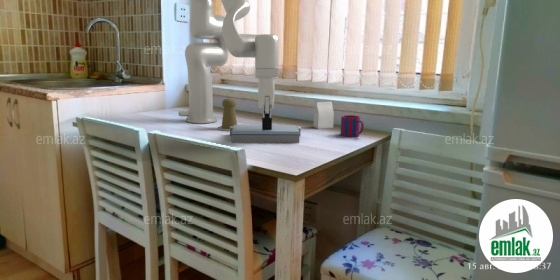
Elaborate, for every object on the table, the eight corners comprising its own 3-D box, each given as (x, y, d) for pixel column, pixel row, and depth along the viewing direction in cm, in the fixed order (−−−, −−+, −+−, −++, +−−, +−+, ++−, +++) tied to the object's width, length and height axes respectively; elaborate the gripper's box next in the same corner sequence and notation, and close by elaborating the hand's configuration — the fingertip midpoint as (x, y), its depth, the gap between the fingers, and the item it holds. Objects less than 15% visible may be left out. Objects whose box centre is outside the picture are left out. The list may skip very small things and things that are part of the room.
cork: (235, 129, 154) (234, 100, 151) (219, 128, 155) (218, 99, 152) (239, 126, 159) (239, 98, 157) (224, 125, 160) (223, 97, 158)
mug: (352, 132, 153) (353, 114, 152) (368, 138, 144) (369, 119, 143) (336, 134, 151) (337, 115, 149) (352, 139, 142) (353, 120, 140)
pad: (215, 131, 152) (215, 130, 152) (218, 125, 161) (218, 125, 161) (243, 131, 152) (243, 130, 152) (244, 126, 162) (244, 125, 162)
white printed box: (333, 127, 162) (334, 102, 160) (318, 128, 160) (319, 103, 157) (328, 126, 166) (329, 101, 163) (313, 127, 163) (314, 101, 161)
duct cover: (234, 127, 146) (234, 124, 145) (296, 128, 147) (296, 125, 147) (231, 134, 134) (231, 131, 134) (299, 134, 135) (299, 131, 135)
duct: (230, 134, 147) (230, 126, 146) (299, 134, 148) (300, 126, 147) (227, 142, 135) (227, 133, 134) (303, 142, 136) (303, 133, 135)
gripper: (255, 72, 141) (255, 125, 145) (254, 75, 126) (255, 134, 130) (277, 72, 141) (277, 125, 145) (279, 75, 127) (279, 133, 130)
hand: (267, 129), depth 138 cm, fingers closed
